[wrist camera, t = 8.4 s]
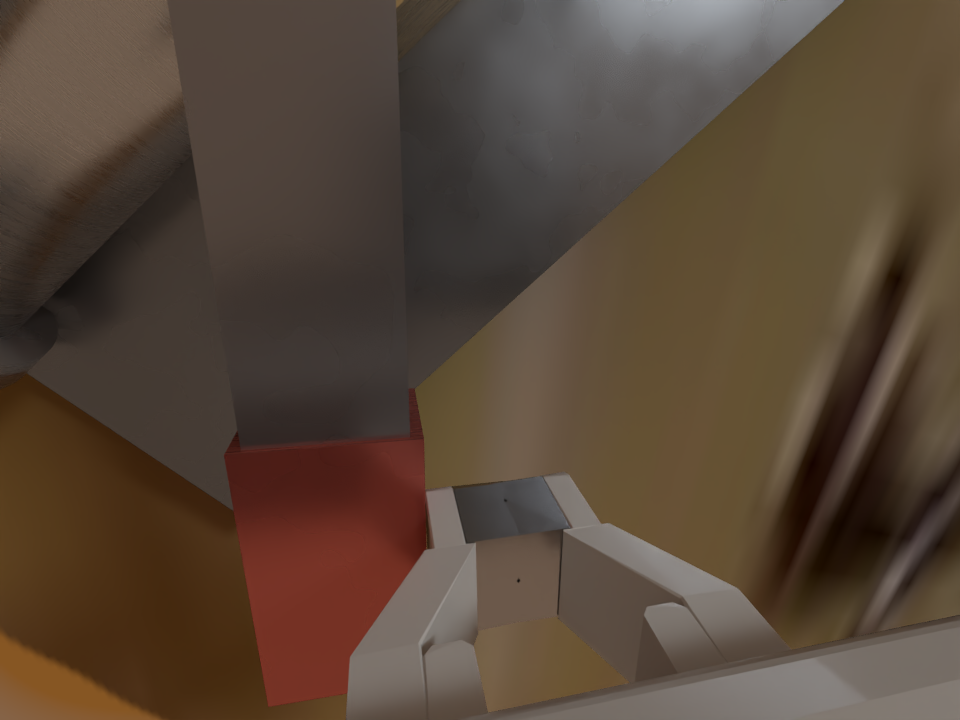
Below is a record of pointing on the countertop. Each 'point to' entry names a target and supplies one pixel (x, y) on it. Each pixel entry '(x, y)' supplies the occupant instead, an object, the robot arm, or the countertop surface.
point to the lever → (308, 315)
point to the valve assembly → (424, 165)
